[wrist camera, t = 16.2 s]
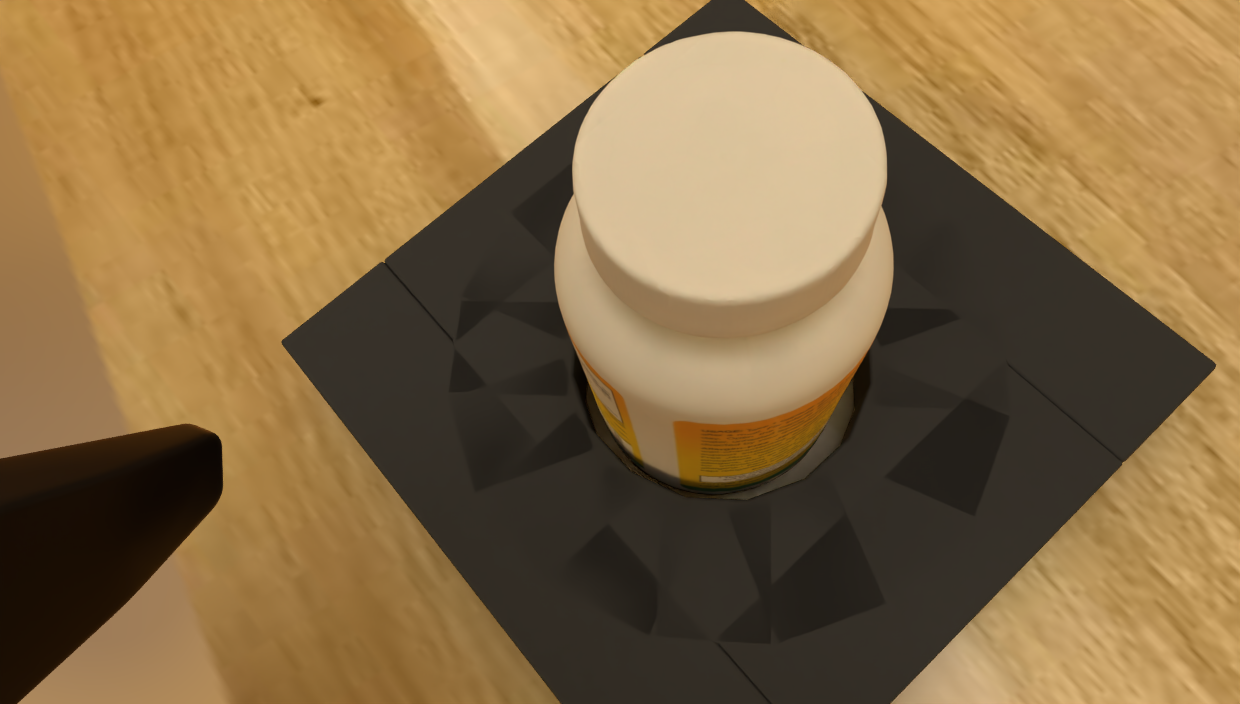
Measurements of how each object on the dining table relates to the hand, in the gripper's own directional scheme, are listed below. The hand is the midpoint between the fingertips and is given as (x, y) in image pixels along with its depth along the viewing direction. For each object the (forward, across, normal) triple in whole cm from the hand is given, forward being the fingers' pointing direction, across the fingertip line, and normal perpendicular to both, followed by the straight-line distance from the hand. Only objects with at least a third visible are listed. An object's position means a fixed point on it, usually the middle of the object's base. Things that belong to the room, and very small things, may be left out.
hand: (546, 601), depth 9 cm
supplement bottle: (+11, 0, +2) cm, 11 cm away
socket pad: (+11, 0, +2) cm, 11 cm away
